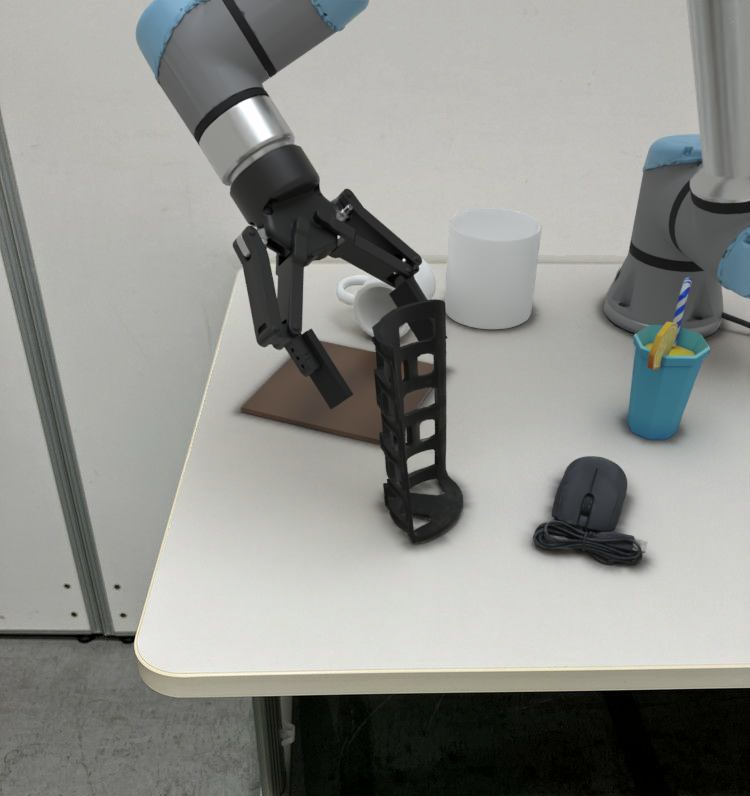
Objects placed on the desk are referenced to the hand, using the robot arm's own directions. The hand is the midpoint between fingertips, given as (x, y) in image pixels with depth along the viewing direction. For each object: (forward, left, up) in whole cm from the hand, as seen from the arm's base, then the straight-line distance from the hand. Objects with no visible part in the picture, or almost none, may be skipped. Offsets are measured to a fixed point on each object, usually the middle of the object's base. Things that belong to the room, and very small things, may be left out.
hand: (392, 372), depth 82 cm
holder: (-3, +1, -14) cm, 14 cm away
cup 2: (-22, -24, -14) cm, 36 cm away
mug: (+15, -35, -14) cm, 41 cm away
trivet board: (+12, -17, -14) cm, 25 cm away
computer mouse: (-19, -5, -14) cm, 24 cm away
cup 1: (+3, -44, -14) cm, 46 cm away
